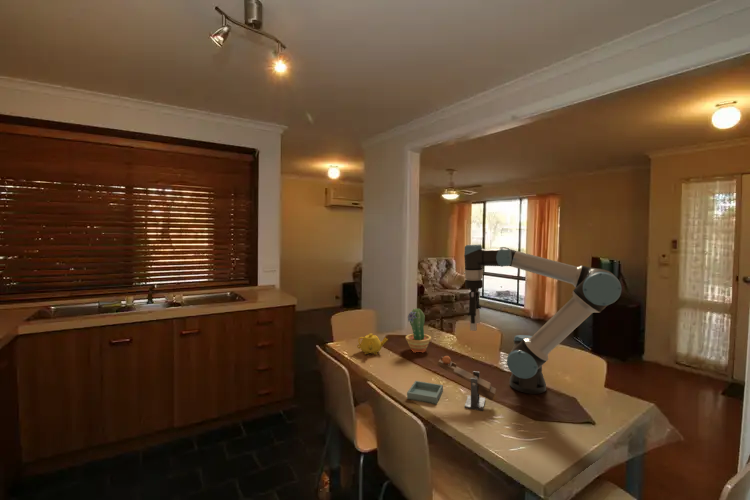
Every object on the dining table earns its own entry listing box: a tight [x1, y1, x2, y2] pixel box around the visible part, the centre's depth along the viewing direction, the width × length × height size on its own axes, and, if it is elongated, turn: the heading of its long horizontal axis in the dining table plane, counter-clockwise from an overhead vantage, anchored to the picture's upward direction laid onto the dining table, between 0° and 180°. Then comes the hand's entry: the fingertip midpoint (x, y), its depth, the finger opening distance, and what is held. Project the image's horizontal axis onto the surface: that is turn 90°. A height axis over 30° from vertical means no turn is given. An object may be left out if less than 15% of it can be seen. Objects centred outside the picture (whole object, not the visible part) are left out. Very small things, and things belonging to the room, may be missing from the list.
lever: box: [436, 356, 497, 401], centre depth 143 cm, size 24×6×5 cm, turn 68°
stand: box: [464, 370, 486, 412], centre depth 142 cm, size 7×10×12 cm
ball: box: [442, 355, 452, 365], centre depth 146 cm, size 4×4×4 cm
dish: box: [406, 380, 444, 405], centre depth 150 cm, size 13×13×3 cm
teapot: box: [356, 333, 389, 356], centre depth 204 cm, size 14×14×11 cm
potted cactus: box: [405, 308, 432, 353], centre depth 207 cm, size 15×15×25 cm
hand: (475, 326), depth 155 cm, fingers open, 13 cm apart
